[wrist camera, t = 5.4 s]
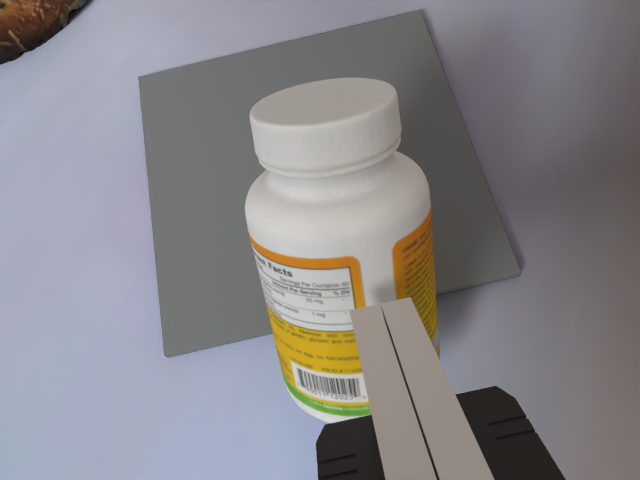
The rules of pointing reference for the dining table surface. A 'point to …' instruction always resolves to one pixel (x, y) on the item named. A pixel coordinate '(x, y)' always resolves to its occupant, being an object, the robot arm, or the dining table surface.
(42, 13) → the bread roll
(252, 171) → the mat
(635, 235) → the dining table surface
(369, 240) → the supplement bottle
